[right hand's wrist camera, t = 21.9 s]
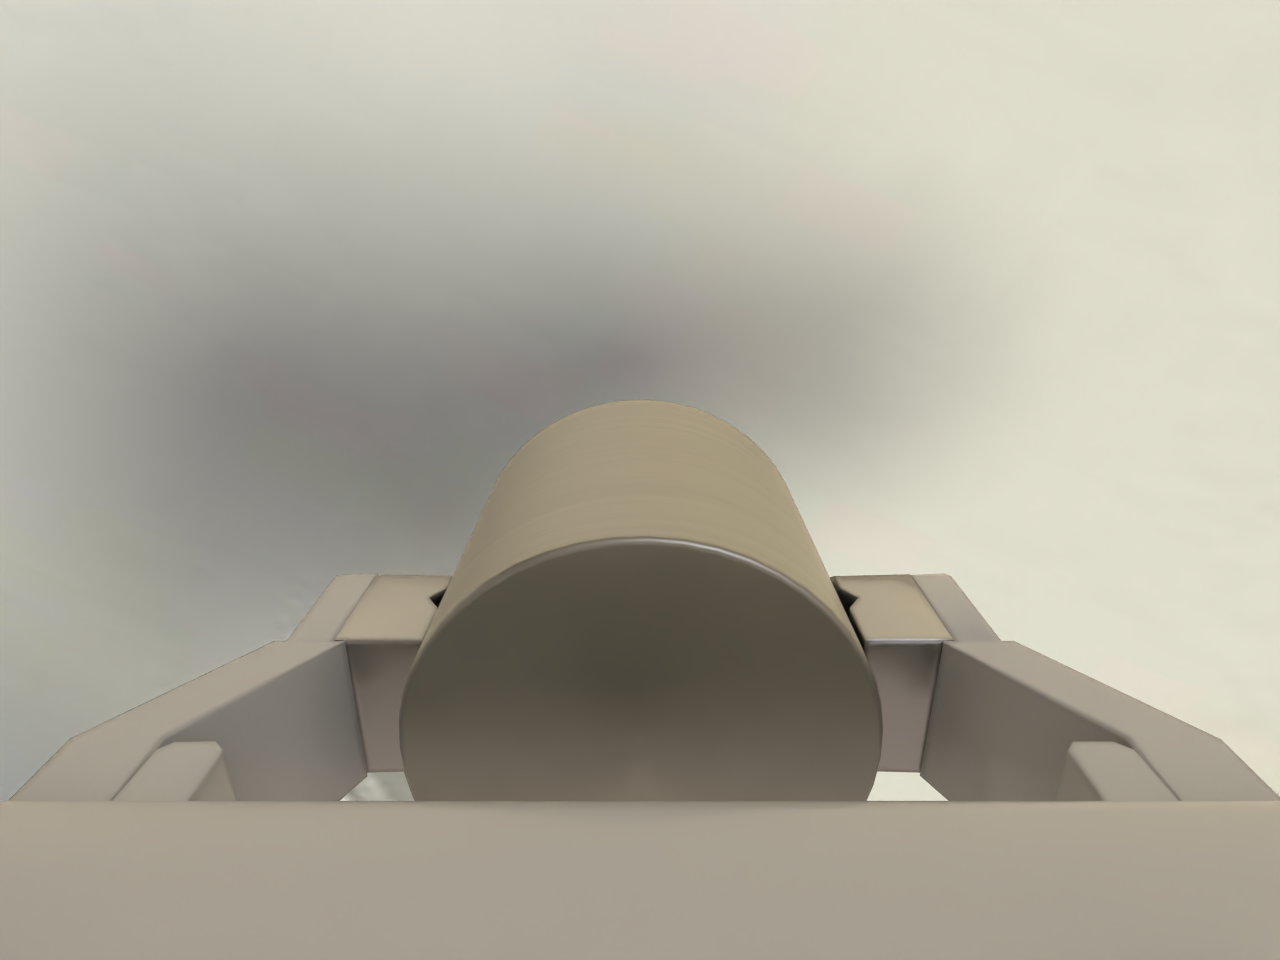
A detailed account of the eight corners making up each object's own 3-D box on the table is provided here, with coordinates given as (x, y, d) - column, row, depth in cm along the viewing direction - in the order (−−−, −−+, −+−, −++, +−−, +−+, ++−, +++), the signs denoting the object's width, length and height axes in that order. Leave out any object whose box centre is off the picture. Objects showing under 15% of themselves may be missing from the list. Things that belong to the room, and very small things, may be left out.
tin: (820, 650, 12) (909, 887, 8) (532, 706, 13) (483, 958, 9) (769, 363, 11) (850, 485, 7) (438, 440, 11) (320, 600, 7)
